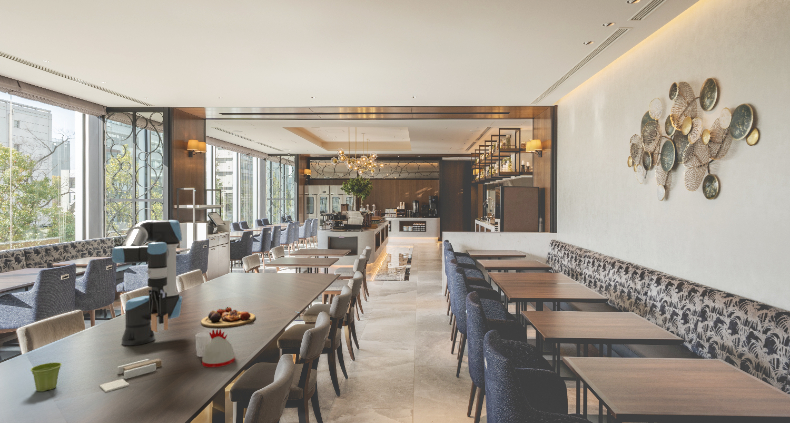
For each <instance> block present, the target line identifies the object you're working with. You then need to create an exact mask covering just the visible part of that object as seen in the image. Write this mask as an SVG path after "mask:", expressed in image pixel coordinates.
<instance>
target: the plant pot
mask: <svg viewBox="0 0 790 423" xmlns="http://www.w3.org/2000/svg"><path fill="white" fill-rule="evenodd" d="M62 364H63V363H61V362H58V361H57V362H47V363H43V364H38V365H35V366H32V367H31V368H30V372H31V373H32V375H33V379H34V385H35V389H36V390H35V391H36V392H46V391H48V390H54V389H55V388H56V387H57V385H58V384H57V383H58V379H59V373H60V370H61V367H62Z"/></svg>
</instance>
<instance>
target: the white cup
mask: <svg viewBox="0 0 790 423" xmlns="http://www.w3.org/2000/svg"><path fill="white" fill-rule="evenodd" d="M210 332H211V334H212V331H203V332H198V333H196V334H195V350H196V357H199V358H203V354H204V351H205V348H206V346H207V345H208V343H209V342H210V341H211V340H212V338H211V336H210V334H209V333H210Z"/></svg>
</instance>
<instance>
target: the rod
mask: <svg viewBox="0 0 790 423" xmlns="http://www.w3.org/2000/svg"><path fill="white" fill-rule="evenodd" d="M154 363H156V368H160V367H162V359H161V358H157V359H151V360H149V361H147V362H143V363H139V364H135V365H131V366H127V367H124V371H127V370H131V369H135V368H139V367H143V366H146V365H150V364H154Z"/></svg>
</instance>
